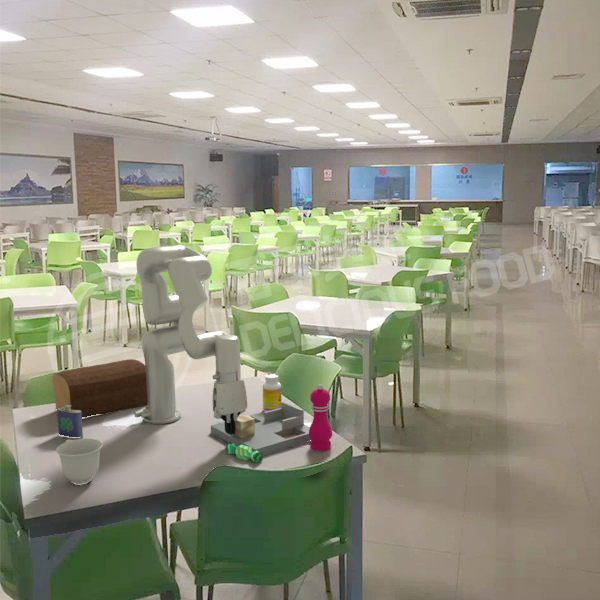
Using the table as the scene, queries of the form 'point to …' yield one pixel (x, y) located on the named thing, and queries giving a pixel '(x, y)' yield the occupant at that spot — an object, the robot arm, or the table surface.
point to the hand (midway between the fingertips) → (230, 433)
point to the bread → (102, 387)
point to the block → (245, 426)
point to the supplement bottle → (271, 393)
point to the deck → (271, 430)
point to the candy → (243, 452)
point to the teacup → (80, 459)
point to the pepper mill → (320, 420)
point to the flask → (69, 422)
